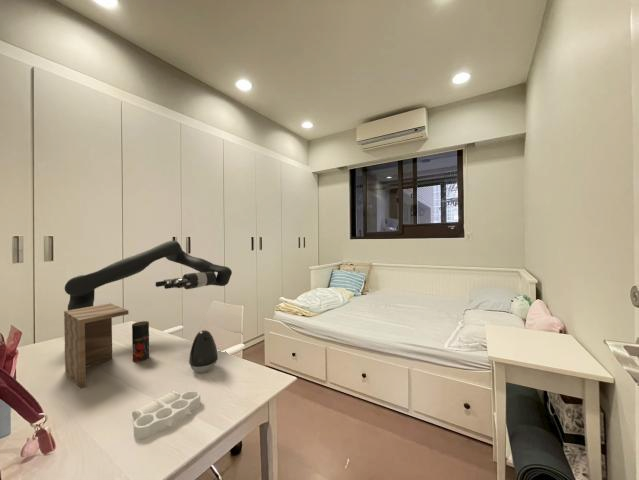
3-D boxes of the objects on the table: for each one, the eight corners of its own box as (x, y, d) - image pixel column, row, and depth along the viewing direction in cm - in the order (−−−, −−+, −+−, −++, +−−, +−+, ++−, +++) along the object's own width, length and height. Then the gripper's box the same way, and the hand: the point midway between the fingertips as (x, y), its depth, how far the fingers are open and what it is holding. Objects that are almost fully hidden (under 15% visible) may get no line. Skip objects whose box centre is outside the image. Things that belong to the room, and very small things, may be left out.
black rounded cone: (194, 379, 96) (193, 337, 96) (186, 369, 104) (185, 330, 104) (222, 370, 103) (221, 331, 103) (212, 360, 111) (212, 324, 111)
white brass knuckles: (181, 393, 89) (210, 407, 81) (119, 426, 73) (146, 448, 66) (181, 383, 89) (209, 397, 81) (118, 414, 73) (146, 435, 66)
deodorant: (152, 355, 116) (152, 321, 116) (142, 362, 110) (141, 326, 110) (139, 355, 117) (139, 321, 116) (129, 361, 111) (128, 325, 111)
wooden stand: (65, 372, 102) (64, 311, 102) (111, 357, 114) (110, 303, 114) (80, 388, 91) (78, 320, 91) (129, 370, 103) (128, 310, 103)
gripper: (187, 271, 137) (152, 275, 124) (202, 274, 129) (167, 278, 115) (187, 286, 137) (153, 291, 124) (203, 289, 129) (168, 295, 115)
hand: (160, 285), depth 120 cm, fingers open, 8 cm apart
